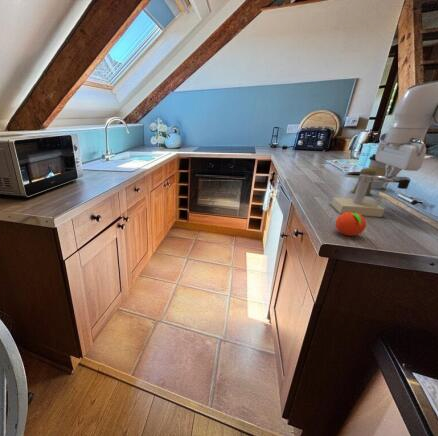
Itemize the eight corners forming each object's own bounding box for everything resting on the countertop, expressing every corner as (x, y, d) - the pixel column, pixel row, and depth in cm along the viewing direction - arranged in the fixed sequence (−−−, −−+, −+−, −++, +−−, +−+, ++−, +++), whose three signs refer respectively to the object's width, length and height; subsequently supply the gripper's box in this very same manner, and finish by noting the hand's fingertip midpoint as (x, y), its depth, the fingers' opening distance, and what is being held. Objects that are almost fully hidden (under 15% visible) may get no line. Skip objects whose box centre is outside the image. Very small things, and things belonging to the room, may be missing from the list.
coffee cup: (386, 191, 109) (398, 157, 103) (359, 187, 115) (369, 155, 109) (386, 187, 116) (398, 154, 110) (361, 183, 122) (371, 153, 116)
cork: (368, 192, 109) (377, 167, 104) (371, 196, 104) (380, 170, 100) (351, 190, 112) (359, 166, 107) (353, 194, 107) (361, 169, 103)
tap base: (368, 207, 92) (378, 178, 88) (381, 217, 83) (393, 186, 79) (331, 204, 96) (338, 177, 91) (340, 213, 87) (349, 183, 83)
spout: (403, 186, 84) (407, 176, 82) (409, 189, 81) (414, 178, 79) (354, 184, 88) (357, 174, 87) (358, 186, 85) (362, 176, 83)
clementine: (369, 242, 68) (378, 219, 65) (341, 240, 69) (348, 217, 66) (353, 230, 75) (360, 208, 72) (328, 228, 76) (334, 207, 73)
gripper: (440, 140, 70) (420, 186, 76) (399, 135, 88) (385, 172, 93) (412, 140, 72) (394, 185, 78) (377, 134, 90) (365, 172, 95)
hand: (389, 178), depth 86 cm, fingers closed
